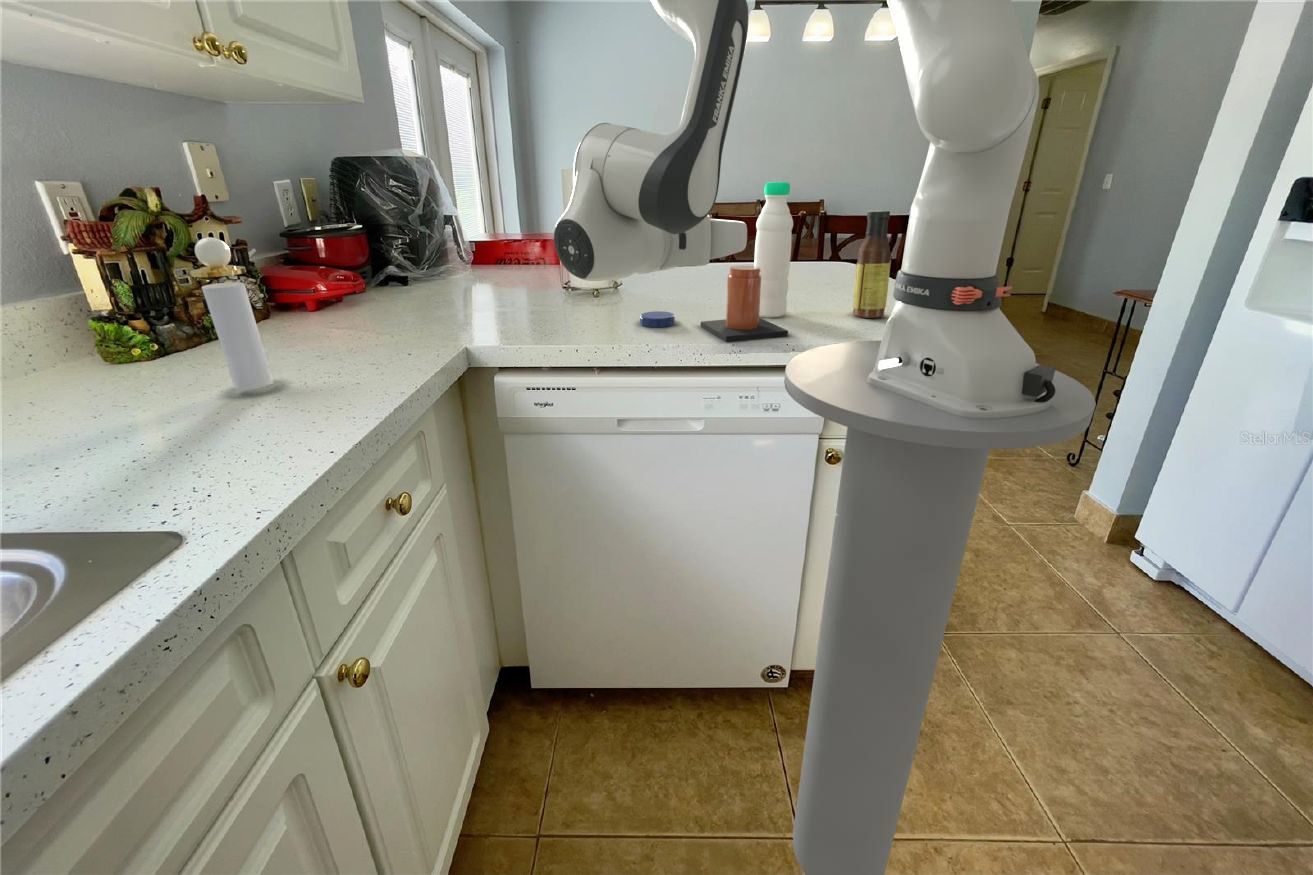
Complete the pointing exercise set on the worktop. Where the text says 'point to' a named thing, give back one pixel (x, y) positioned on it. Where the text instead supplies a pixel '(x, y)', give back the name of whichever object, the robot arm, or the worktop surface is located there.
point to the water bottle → (774, 249)
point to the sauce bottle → (873, 268)
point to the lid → (657, 319)
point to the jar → (743, 297)
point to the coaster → (743, 331)
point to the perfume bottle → (232, 317)
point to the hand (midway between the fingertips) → (708, 231)
